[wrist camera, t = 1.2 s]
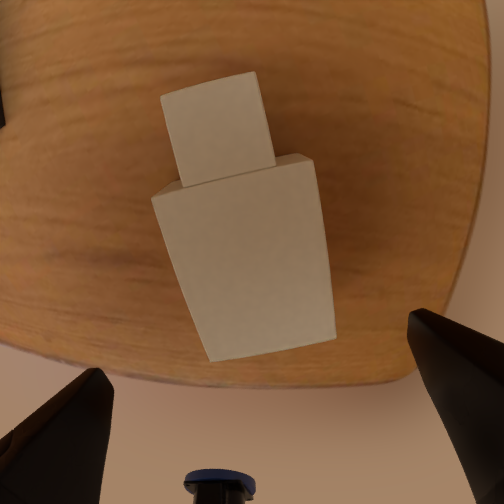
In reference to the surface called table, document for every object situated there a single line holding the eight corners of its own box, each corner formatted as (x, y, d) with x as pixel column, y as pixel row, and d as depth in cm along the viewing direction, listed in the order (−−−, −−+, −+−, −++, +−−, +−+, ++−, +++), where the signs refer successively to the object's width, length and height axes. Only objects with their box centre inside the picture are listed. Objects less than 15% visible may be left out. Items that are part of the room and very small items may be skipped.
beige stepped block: (322, 302, 16) (337, 339, 13) (215, 324, 17) (210, 363, 14) (282, 78, 12) (292, 64, 9) (151, 111, 12) (125, 107, 9)
